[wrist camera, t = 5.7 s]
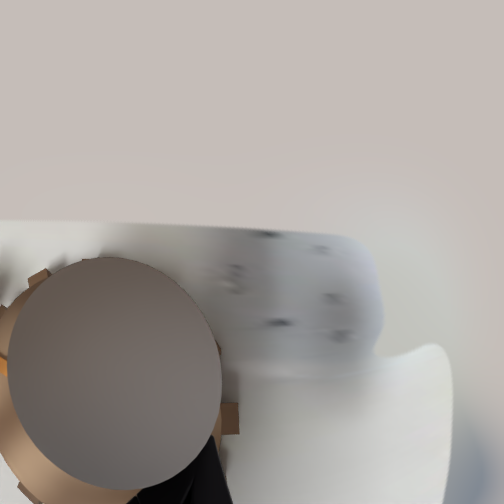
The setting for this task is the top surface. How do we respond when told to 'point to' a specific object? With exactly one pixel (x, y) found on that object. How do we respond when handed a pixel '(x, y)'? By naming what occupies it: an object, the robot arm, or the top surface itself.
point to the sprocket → (106, 383)
